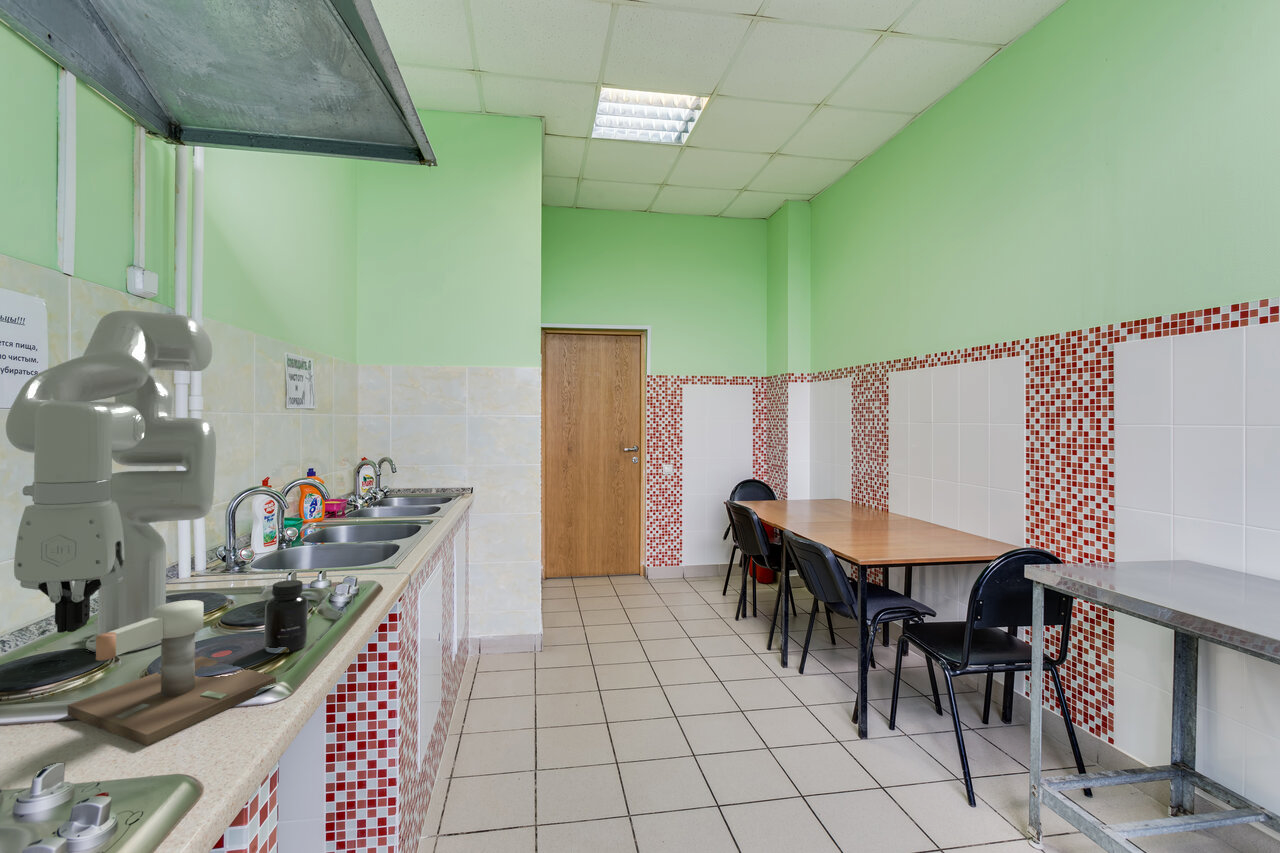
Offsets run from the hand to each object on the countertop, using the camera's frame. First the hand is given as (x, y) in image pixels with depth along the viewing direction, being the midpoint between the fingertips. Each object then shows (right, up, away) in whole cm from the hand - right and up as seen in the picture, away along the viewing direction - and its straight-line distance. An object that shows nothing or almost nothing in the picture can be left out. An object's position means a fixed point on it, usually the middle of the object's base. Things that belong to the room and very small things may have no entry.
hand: (72, 628), depth 79 cm
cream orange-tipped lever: (+6, -4, +5) cm, 9 cm away
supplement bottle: (+11, -14, +29) cm, 34 cm away
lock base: (+7, -14, +9) cm, 18 cm away
